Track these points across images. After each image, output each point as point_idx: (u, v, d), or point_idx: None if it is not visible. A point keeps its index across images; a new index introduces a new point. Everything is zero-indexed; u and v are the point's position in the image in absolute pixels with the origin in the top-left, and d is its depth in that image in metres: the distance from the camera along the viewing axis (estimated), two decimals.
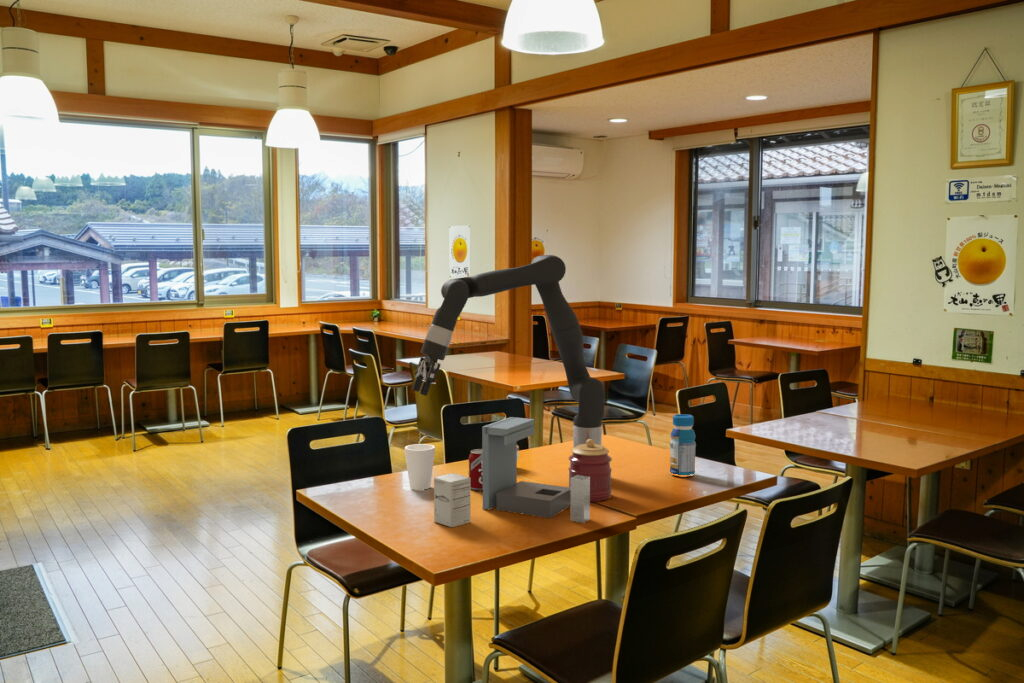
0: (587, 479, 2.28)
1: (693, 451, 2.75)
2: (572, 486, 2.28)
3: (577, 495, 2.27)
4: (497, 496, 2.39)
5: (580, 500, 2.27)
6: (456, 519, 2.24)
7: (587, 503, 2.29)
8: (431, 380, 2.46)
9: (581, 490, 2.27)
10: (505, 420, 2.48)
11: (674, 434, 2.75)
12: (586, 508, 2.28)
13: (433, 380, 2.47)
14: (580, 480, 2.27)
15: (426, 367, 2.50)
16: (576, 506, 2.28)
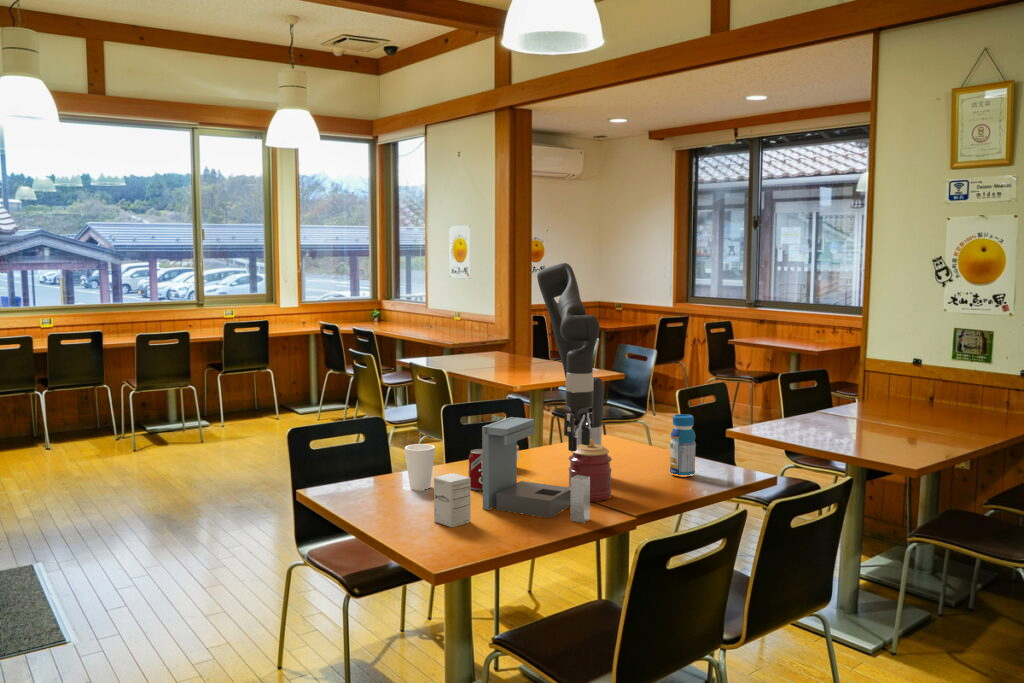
0: (587, 479, 2.28)
1: (693, 451, 2.75)
2: (572, 486, 2.28)
3: (577, 495, 2.27)
4: (497, 496, 2.39)
5: (580, 500, 2.27)
6: (456, 519, 2.24)
7: (587, 503, 2.29)
8: None
9: (581, 490, 2.27)
10: (505, 420, 2.48)
11: (674, 434, 2.75)
12: (586, 508, 2.28)
13: None
14: (580, 480, 2.27)
15: None
16: (576, 506, 2.28)
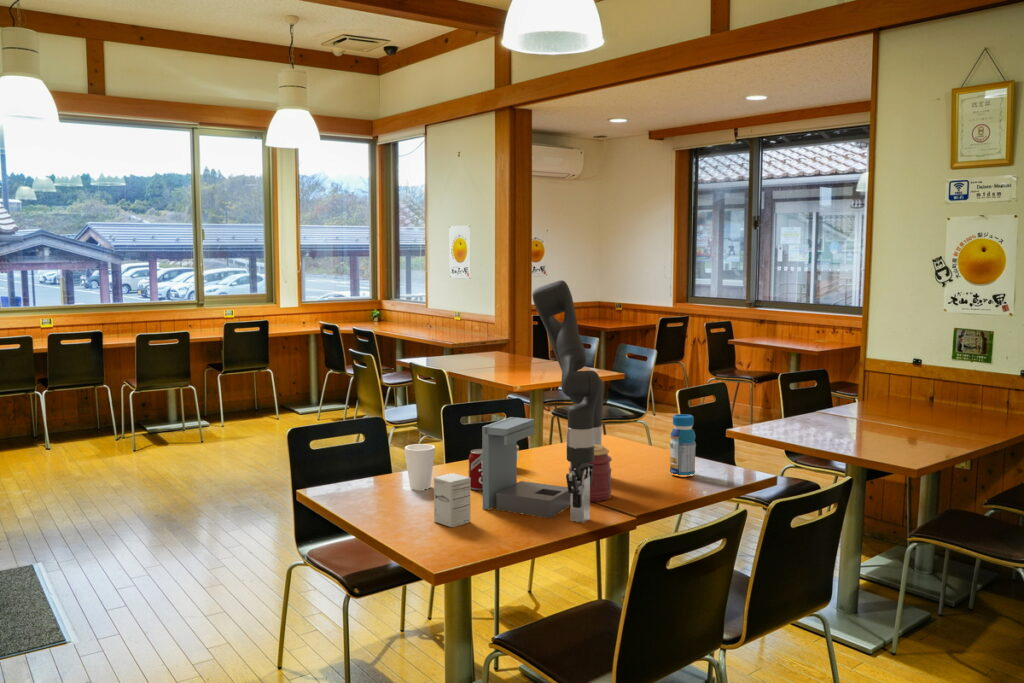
0: (587, 479, 2.28)
1: (693, 451, 2.75)
2: None
3: None
4: (497, 496, 2.39)
5: None
6: (456, 519, 2.24)
7: (587, 503, 2.29)
8: None
9: (581, 490, 2.27)
10: (505, 420, 2.48)
11: (674, 434, 2.75)
12: (586, 508, 2.28)
13: None
14: (580, 480, 2.27)
15: None
16: None
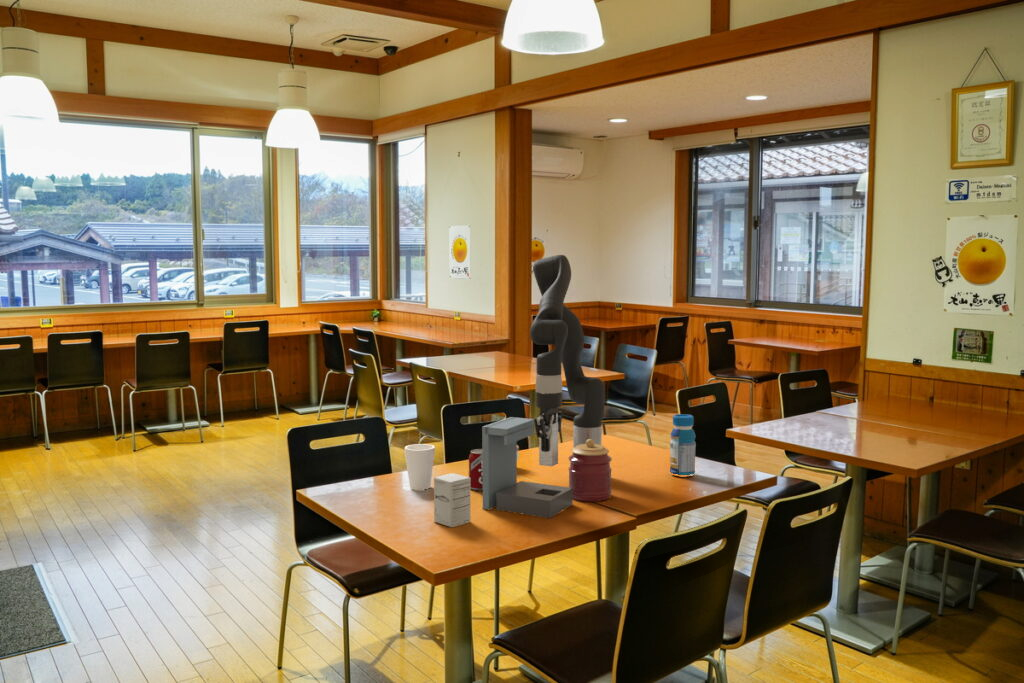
0: (555, 424, 2.37)
1: (693, 451, 2.75)
2: None
3: None
4: (497, 496, 2.39)
5: None
6: (456, 519, 2.24)
7: (555, 448, 2.38)
8: None
9: (549, 435, 2.36)
10: (505, 420, 2.48)
11: (674, 434, 2.75)
12: (554, 452, 2.37)
13: None
14: None
15: None
16: None
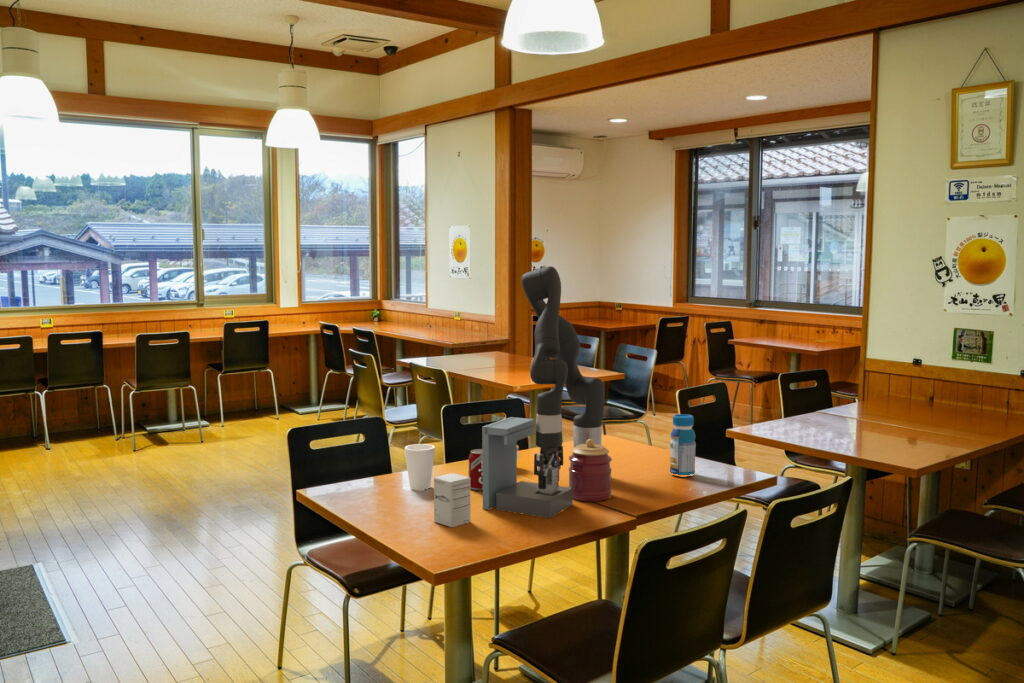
0: (555, 470, 2.38)
1: (693, 451, 2.75)
2: None
3: (546, 485, 2.38)
4: (497, 496, 2.39)
5: (548, 490, 2.37)
6: (456, 519, 2.24)
7: (556, 493, 2.39)
8: None
9: (549, 481, 2.37)
10: (505, 420, 2.48)
11: (674, 434, 2.75)
12: None
13: None
14: (548, 471, 2.37)
15: None
16: None
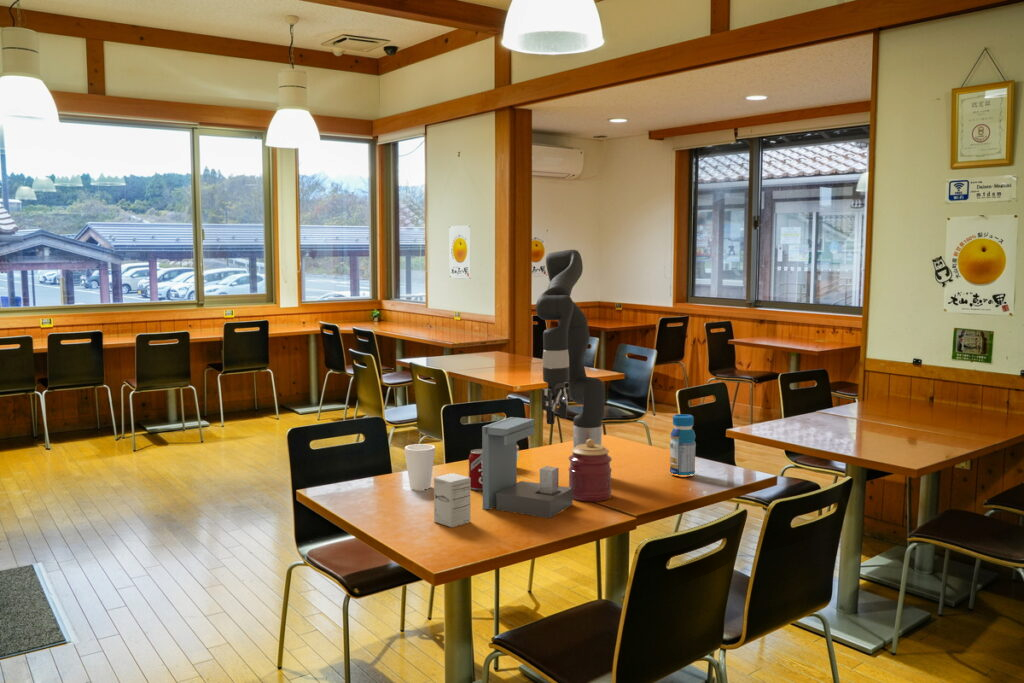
0: (555, 470, 2.38)
1: (693, 451, 2.75)
2: (541, 476, 2.38)
3: (546, 485, 2.38)
4: (497, 496, 2.39)
5: (548, 490, 2.37)
6: (456, 519, 2.24)
7: (556, 493, 2.39)
8: None
9: (549, 481, 2.37)
10: (505, 420, 2.48)
11: (674, 434, 2.75)
12: None
13: None
14: (548, 471, 2.37)
15: None
16: None
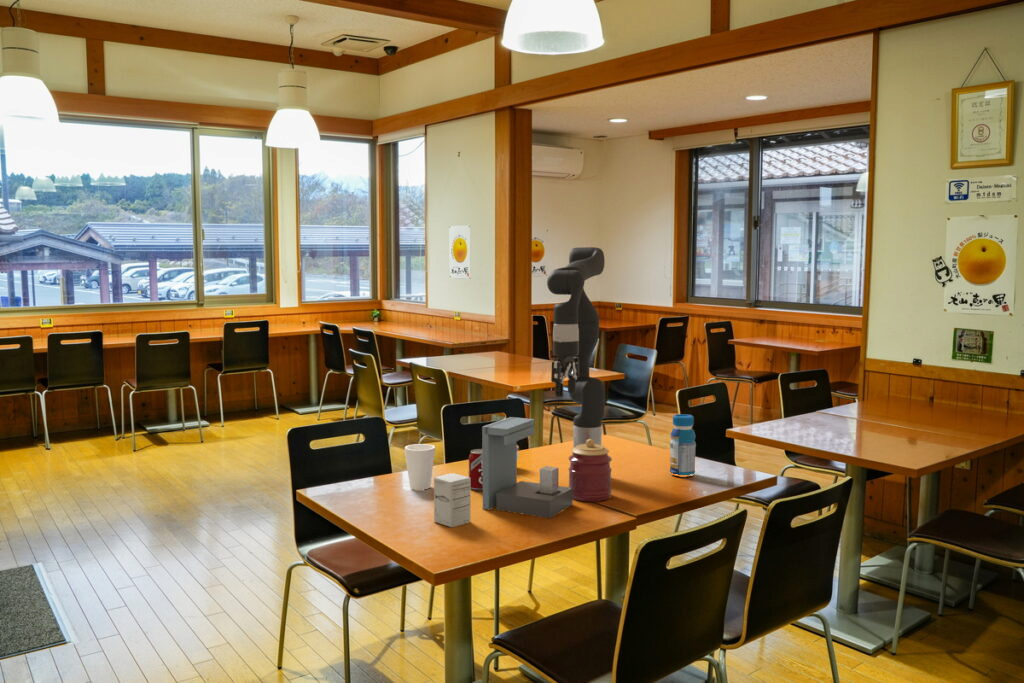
0: (555, 470, 2.38)
1: (693, 451, 2.75)
2: (541, 476, 2.38)
3: (546, 485, 2.38)
4: (497, 496, 2.39)
5: (548, 490, 2.37)
6: (456, 519, 2.24)
7: (556, 493, 2.39)
8: None
9: (549, 481, 2.37)
10: (505, 420, 2.48)
11: (674, 434, 2.75)
12: None
13: None
14: (548, 471, 2.37)
15: None
16: None
